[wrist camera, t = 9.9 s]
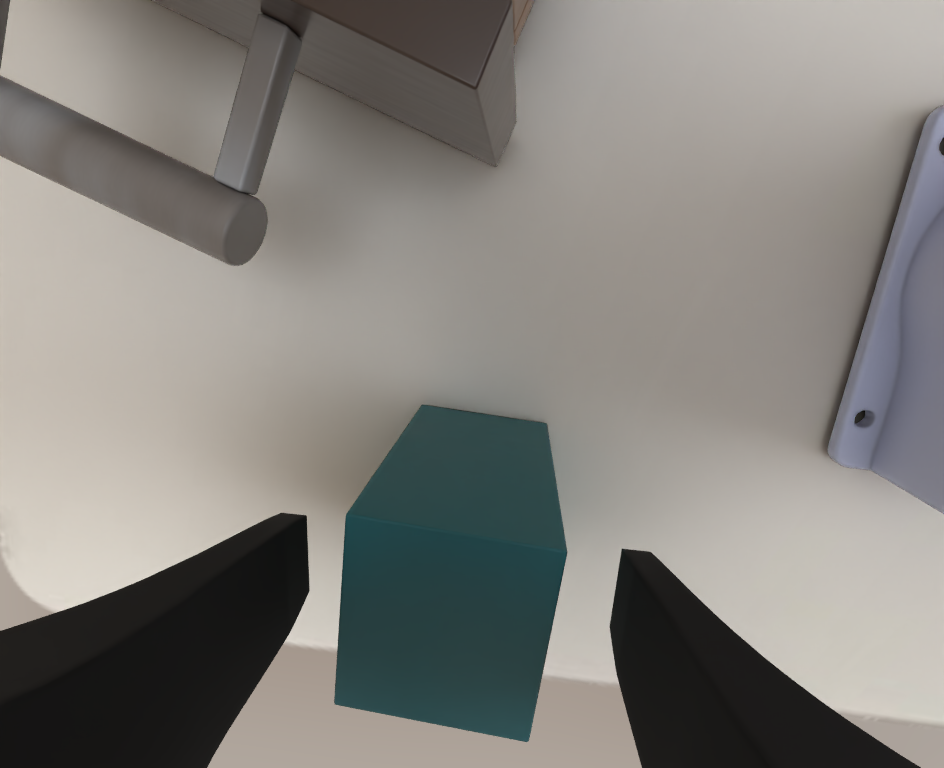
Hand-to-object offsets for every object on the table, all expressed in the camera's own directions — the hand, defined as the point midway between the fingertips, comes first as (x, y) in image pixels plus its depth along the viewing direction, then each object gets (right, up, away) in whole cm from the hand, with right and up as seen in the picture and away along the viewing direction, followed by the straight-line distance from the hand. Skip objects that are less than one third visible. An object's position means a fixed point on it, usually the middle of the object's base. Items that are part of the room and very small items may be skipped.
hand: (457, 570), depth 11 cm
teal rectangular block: (0, +1, +5) cm, 5 cm away
